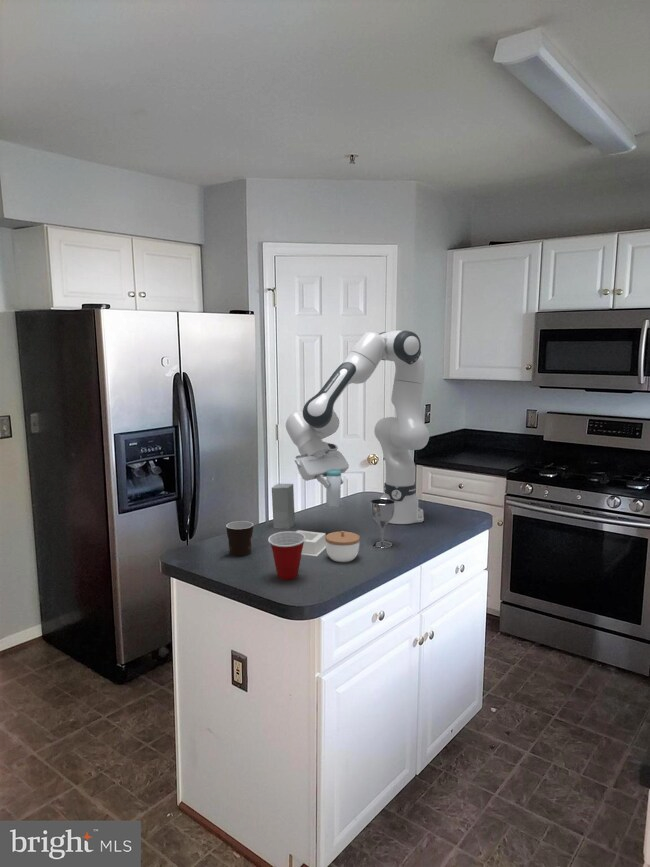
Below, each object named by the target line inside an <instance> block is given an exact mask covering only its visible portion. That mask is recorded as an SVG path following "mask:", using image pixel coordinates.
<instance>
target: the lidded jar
mask: <svg viewBox="0 0 650 867" xmlns="http://www.w3.org/2000/svg"><path fill="white" fill-rule="evenodd" d="M325 540H326V548H325V550H326V554H327V556H328V557H329V559H330V560H332V561H334V562H338V563H348V562H352V561H354V559H355V558H357V556H358V553H359V550H360V541H361V536H360V535H359V534H357V533H354V532H351V531H350V532H349V531H344V530H341V531H333V532H330V533H328V534H326V536H325Z"/></svg>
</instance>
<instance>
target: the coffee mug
mask: <svg viewBox="0 0 650 867" xmlns="http://www.w3.org/2000/svg"><path fill="white" fill-rule="evenodd" d="M225 528H226V534H227V542H228V550H229V555H230V556H232V557H237V558H239V557H241V558H242V557H247V556H249V555H250V554H251V553H252V544H253V533H254V523H253V522H251V521H247V520H239V521H236V520H235V521H232V522H229V523H227V524H226V525H225Z"/></svg>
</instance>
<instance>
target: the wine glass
mask: <svg viewBox="0 0 650 867" xmlns="http://www.w3.org/2000/svg"><path fill="white" fill-rule="evenodd" d="M394 509H395V501H394V500H392V499H386V498H380V497H378V498H373V499H371V500H370V511H371V517H372V518H373V520H374V521H375V522H376V524H377V525H378V526H379V530H380V540H378V541H377V540H376V542H375V543H374V544H373V545H372V547H374V546H375V548H377V547H381V548H380V549H387V548H388V547H389V548H391V546H392V544H393V543H392V542H390V541H385V540H384V534H385V528H386V526H387V525H388V524H390V523H389V521H390V520H391V519H392V517H393V514H394ZM392 547H393V546H392Z"/></svg>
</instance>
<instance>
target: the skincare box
mask: <svg viewBox="0 0 650 867" xmlns="http://www.w3.org/2000/svg"><path fill="white" fill-rule="evenodd" d="M294 493H295V492H294V483H277V484H275V485H273V486H272V487H271V501H272V502H271V504H272V505H271V506H272V518H273V519H272V520H273V522H272V523H273V524H272V526H273V529H285V530H290V529H291V528H294V526H295V525H296V518H295V517H296V515H295V494H294Z"/></svg>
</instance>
